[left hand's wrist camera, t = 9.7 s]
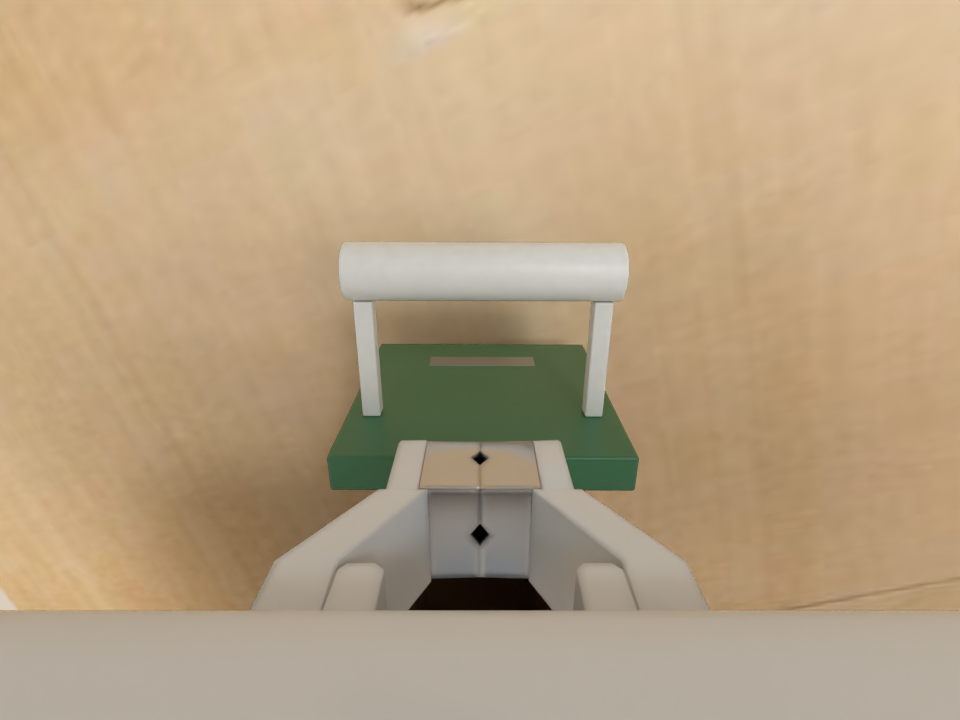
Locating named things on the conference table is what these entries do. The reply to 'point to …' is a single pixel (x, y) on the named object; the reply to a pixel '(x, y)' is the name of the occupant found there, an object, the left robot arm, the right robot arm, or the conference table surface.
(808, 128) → the conference table surface
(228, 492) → the conference table surface
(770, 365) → the conference table surface
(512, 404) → the drawer
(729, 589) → the conference table surface
